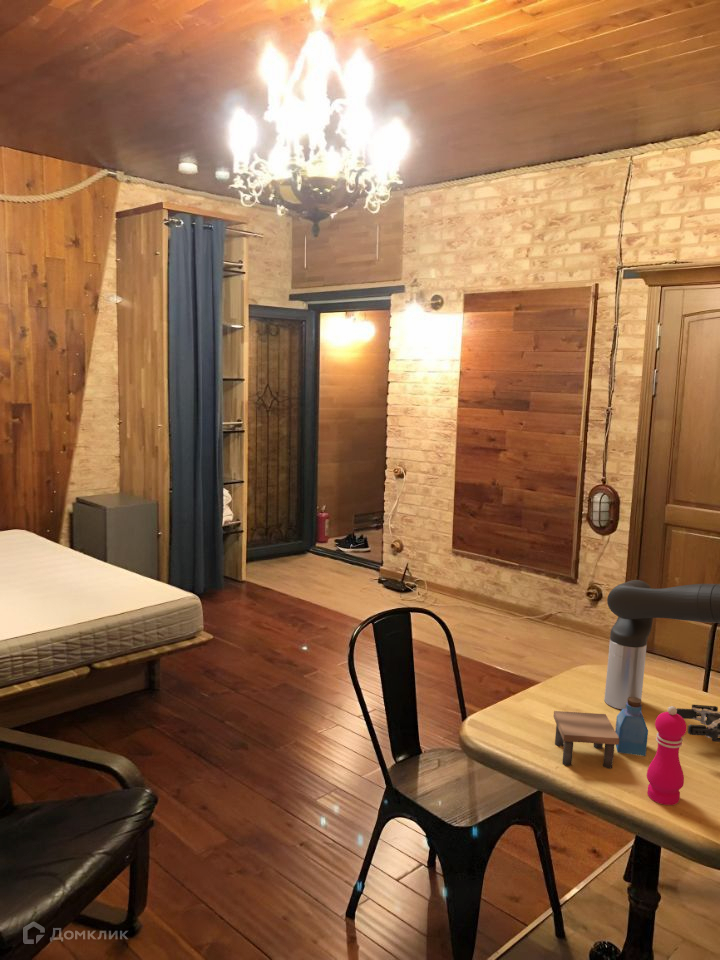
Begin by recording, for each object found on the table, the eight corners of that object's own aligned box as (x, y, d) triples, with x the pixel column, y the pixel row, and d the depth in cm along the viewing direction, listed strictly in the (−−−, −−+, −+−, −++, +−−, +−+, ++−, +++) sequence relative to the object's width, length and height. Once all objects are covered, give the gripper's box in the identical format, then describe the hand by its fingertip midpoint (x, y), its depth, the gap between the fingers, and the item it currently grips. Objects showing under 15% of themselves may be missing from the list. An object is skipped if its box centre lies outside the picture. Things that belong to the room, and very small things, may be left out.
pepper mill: (662, 809, 158) (672, 716, 155) (637, 791, 165) (646, 701, 162) (689, 803, 161) (699, 711, 158) (663, 785, 168) (672, 697, 165)
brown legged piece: (551, 740, 186) (554, 710, 185) (602, 744, 185) (605, 714, 184) (561, 766, 174) (564, 734, 173) (616, 770, 173) (619, 738, 172)
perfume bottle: (645, 756, 180) (650, 706, 179) (617, 752, 182) (622, 703, 180) (641, 743, 186) (646, 695, 185) (614, 740, 188) (618, 692, 186)
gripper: (742, 696, 188) (673, 693, 189) (769, 723, 174) (694, 719, 175) (738, 726, 189) (670, 722, 190) (765, 755, 175) (691, 751, 176)
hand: (682, 721), depth 182 cm, fingers open, 8 cm apart
